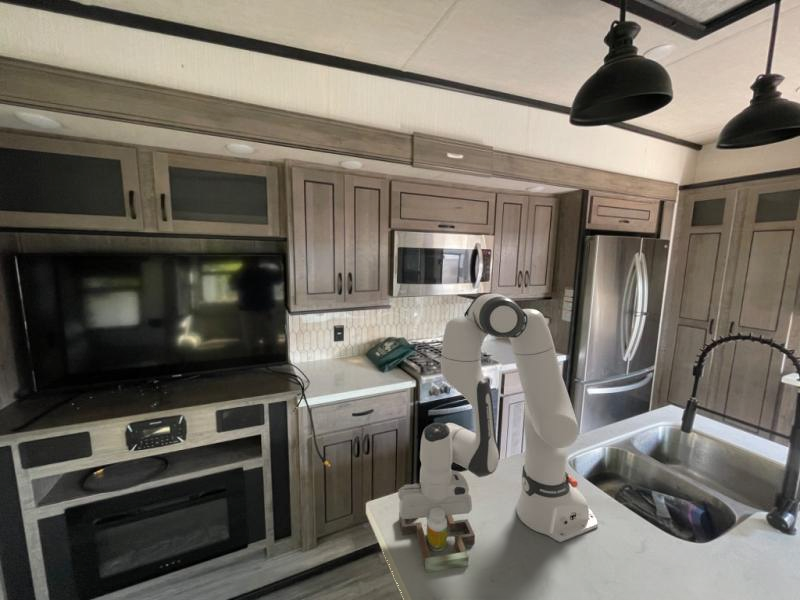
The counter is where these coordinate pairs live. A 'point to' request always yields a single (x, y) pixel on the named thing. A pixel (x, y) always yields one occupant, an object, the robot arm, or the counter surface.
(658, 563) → the counter surface
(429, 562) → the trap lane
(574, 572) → the counter surface
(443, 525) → the supplement bottle
